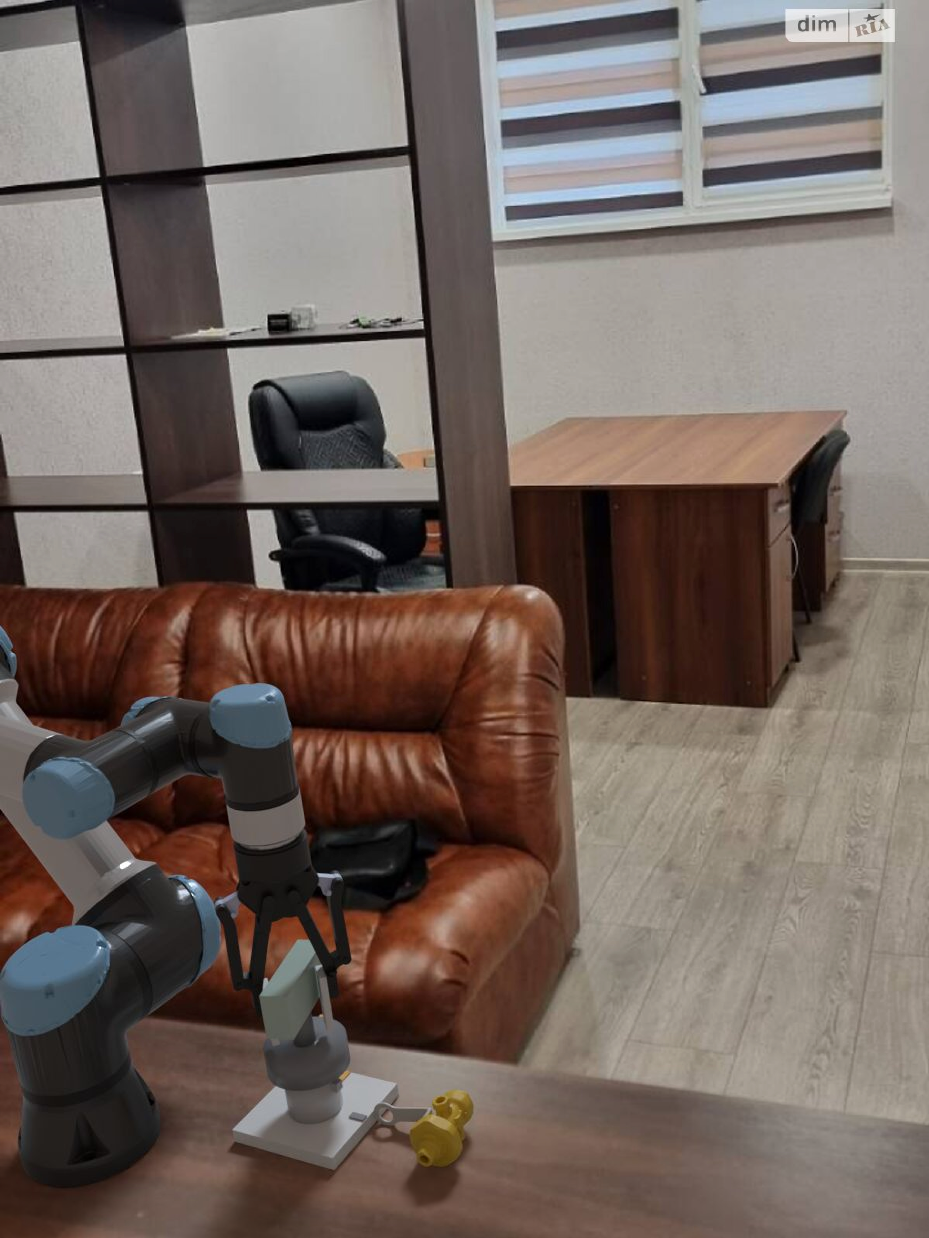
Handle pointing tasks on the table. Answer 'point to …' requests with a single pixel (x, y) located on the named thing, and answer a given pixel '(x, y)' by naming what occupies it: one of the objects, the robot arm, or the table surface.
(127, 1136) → the robot arm
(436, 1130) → the pressure relief valve
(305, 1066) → the cap
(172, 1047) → the table surface
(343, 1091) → the base
